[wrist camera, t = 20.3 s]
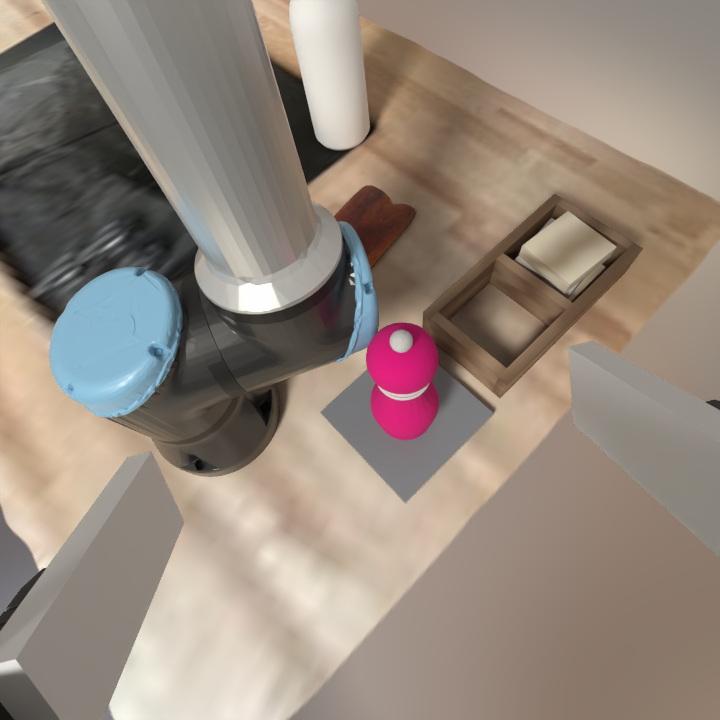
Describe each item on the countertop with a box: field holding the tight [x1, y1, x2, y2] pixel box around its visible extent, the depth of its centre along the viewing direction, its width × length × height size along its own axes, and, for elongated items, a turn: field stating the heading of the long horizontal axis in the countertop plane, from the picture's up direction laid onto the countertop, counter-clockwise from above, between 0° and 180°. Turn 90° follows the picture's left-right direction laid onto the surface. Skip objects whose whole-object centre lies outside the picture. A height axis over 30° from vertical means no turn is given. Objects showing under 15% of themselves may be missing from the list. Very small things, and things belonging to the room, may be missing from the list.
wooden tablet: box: [334, 186, 416, 268], centre depth 63 cm, size 27×10×2 cm, turn 143°
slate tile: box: [321, 365, 494, 504], centre depth 53 cm, size 14×14×1 cm
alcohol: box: [289, 0, 370, 151], centre depth 59 cm, size 9×9×30 cm
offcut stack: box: [514, 211, 616, 302], centre depth 56 cm, size 9×9×6 cm
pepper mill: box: [366, 323, 439, 440], centre depth 43 cm, size 7×7×20 cm
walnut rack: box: [423, 194, 643, 398], centre depth 55 cm, size 12×24×5 cm, turn 133°
